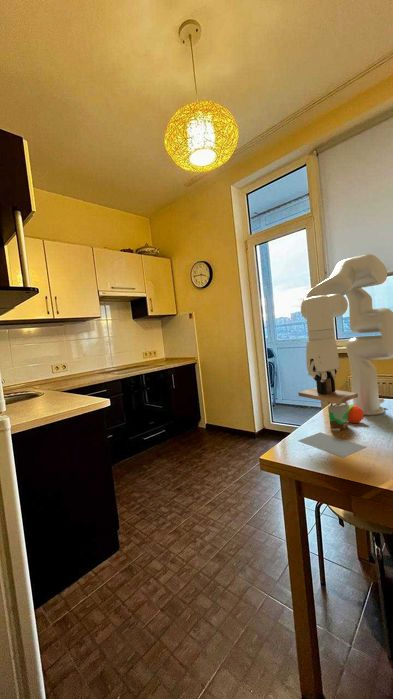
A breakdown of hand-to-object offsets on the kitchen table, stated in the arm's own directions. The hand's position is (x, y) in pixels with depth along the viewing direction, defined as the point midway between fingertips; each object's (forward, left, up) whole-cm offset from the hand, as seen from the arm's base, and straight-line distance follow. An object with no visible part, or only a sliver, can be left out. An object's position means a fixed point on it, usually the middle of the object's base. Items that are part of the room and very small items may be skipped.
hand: (326, 391), depth 92 cm
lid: (0, 0, -1) cm, 1 cm away
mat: (0, 0, -18) cm, 18 cm away
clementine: (-23, -8, -18) cm, 30 cm away
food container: (-15, -7, -18) cm, 24 cm away
